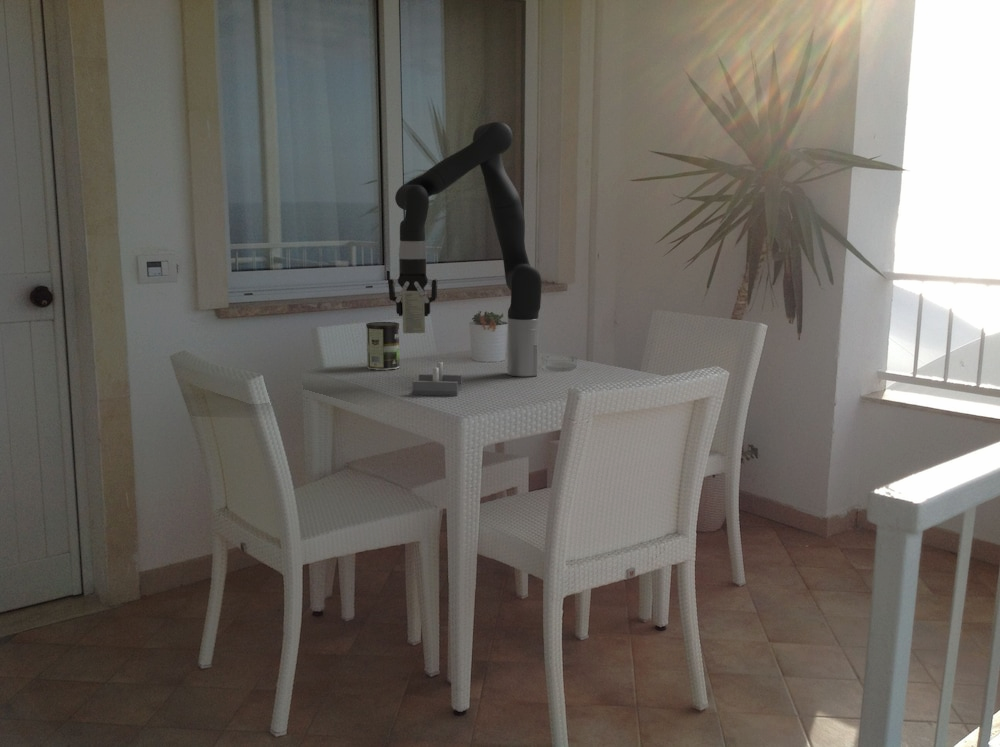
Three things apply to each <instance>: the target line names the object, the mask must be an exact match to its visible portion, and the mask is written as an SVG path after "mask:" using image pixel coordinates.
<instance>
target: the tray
mask: <svg viewBox="0 0 1000 747" xmlns="http://www.w3.org/2000/svg"><path fill="white" fill-rule="evenodd" d="M443 369H444V362H443V361H442V362H441V361H438V362H437V364H436V367H432V373H419V374H418V380H413V381H412V395H413V396H445V395H449V396H451V397H452V396H456V397H457V396H458V395H459V393H460V392H461V390H462V388H463V375H462V374H445V373H444V370H443ZM459 391H460V392H459Z"/></svg>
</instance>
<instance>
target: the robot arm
mask: <svg viewBox="0 0 1000 747" xmlns="http://www.w3.org/2000/svg"><path fill="white" fill-rule="evenodd" d="M513 137H514V135H513V132H512V129H511V127H509V125H508V124H506V123H504V122H502V121H492V122H488V123H487V122H486V123H484V124H481V125H479V126H478V127H476V129H475V130H474V132H473V135H472V142H471V143H470V144H469V145H467V146H465V147H464V148H462V149H460V150H459V151H457V152H454V153H453V154H451V155H449V156H448V157H446V158H444V159H442V160H441V161H439V162H437V163H436V164H435V165H433V166H432V167H430V168H429V169H427V171H425V172H424V173H423V174H421V175H418V176H416V177H414V178H413V179H411V180H409V181H408V182H405V183H404V184H402V185H401V186H400V187H399V188H398V190H397V191H396V192H395V195H394V196H395V198H394V199H395V203H396V206H398V207H399V209H401V210H404V211H405V215H404V219H402V220H401V222H400V224H399V247H398V262H399V264H398V265H399V266H398V267H399V268H398V272H399V275H398V278H390V279H388V283H387V284H388V294H389V298H388V299H389V300H390V301H393V302H395V304H396V305H395V306H396V309H395V311H396V314H397V315H398V316H399V317H403V313H402V291H419V293H420V295H421V296H424V314H425V317H428V316H429V315H430V313H431V303H432V302H434V301H436V300H437V298H438V282H439V281H438V279H437V278H435V279H429V278H428V277H427V248H426V229H425V228H426V227H425V226H426V221H427V218H428V213H429V212H428V211H429V206H430V197H431V196H435V195H438V194H440V193H442V192H443V191H445V190H446V189H447V188H449V187H450V186H452V185H453V184H454V183H456V182H457V181H458V180H460V179H461V178H462V177H464V176H465V175H466V174H468V173H469V172H471V171H472V170H473V169H475V168H476V167H480V169H481V173H482V176H483V180H484V185H485V189H486V193H487V197H488V201H489V207H490V211H491V212H490V213H491V217H492V220H493V226H494V227H495V232H496V235H497V240H498V242H499V245H500V249H501V250H500V251H501V255H502V260H503V261H502V262H503V268H504V269H503V270H504V278H505V284H506V286H507V287H508V289H509V290H510V295H511V296H510V306H509V308H508V309H507V345H506V346H507V348H506V349H507V350H506V351H507V353H506V354H507V355H506V357H507V358H506V359H507V361H506V364H507V366H506V373H507V375H509V376H513V377H538V372H539V371H538V369H539V364H538V363H539V313H540V310H541V305H542V277H541V274H540V272H539V271H538V269H537V268H536V267H534V266H531V264H530V261H529V258H528V254H527V250H526V244H525V234H526V233H525V232H526V229H525V228H526V224H525V223H526V222H525V213H524V209H523V206H522V200H521V197H520V195H519V192H518V190H517V189H516V187H515V185H514V183H513V182H512V181H511V179H510V177H509V176H508V174H507V172H506V170H505V166H504V161H503V158H502V156H503V155H502V154H504V153H505V152H507V151H508V150H509V149H510V148H511V146H512V144H513V141H514V140H513V139H514V138H513ZM428 284H429V287H430V288H431V296H429V295H428V293H427V291H426V289H425V288H426V286H427V285H428ZM397 285H399V286H400V287H401V290H400V291H399V293H398V295H397V296H396V288H395V287H396V286H397ZM423 290H424V291H423Z"/></svg>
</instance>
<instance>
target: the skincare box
mask: <svg viewBox="0 0 1000 747" xmlns="http://www.w3.org/2000/svg"><path fill="white" fill-rule="evenodd" d="M423 291H424V290H423ZM401 302H402V332H403V334H425V333H426V325H425V323H426V322H425V321H426V320H425V319H426V318H425V317H426V316H425V314H424V303H425V301H424V296H421V295H420V293H419V291H402V300H401Z"/></svg>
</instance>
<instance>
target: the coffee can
mask: <svg viewBox="0 0 1000 747" xmlns="http://www.w3.org/2000/svg"><path fill="white" fill-rule="evenodd" d="M365 326H366V355H367V356H366V357H367V359H366V360H367V362H366V363H367V367H366V368H370V369H376V370H375V371H378V370H385V371H389V370H388V369H396V370H398V369H397V368H399V367H400V323H398V322H395V321H374V322H373V321H372V322H367V323H366V324H365ZM370 369H369V370H370ZM399 369H400V368H399Z"/></svg>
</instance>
